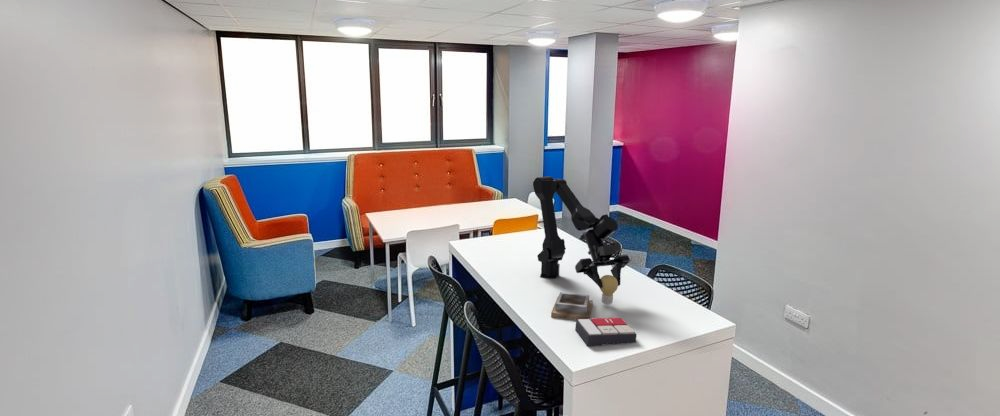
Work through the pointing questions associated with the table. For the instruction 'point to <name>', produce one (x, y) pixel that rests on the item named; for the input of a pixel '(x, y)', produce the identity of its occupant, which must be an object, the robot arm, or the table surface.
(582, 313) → the square frame
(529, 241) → the table surface
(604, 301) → the light bulb
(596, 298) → the table surface
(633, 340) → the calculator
